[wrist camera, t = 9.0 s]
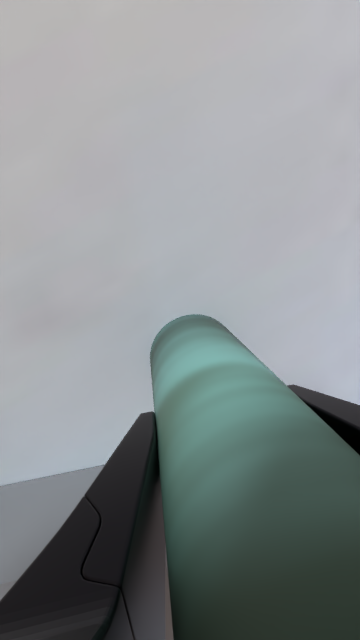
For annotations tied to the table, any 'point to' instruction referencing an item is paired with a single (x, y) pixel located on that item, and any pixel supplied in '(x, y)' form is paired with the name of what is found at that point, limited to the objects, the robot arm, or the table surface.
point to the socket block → (44, 523)
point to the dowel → (251, 496)
